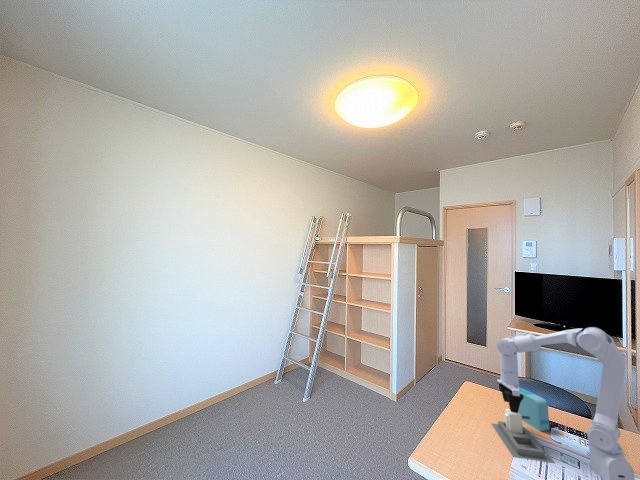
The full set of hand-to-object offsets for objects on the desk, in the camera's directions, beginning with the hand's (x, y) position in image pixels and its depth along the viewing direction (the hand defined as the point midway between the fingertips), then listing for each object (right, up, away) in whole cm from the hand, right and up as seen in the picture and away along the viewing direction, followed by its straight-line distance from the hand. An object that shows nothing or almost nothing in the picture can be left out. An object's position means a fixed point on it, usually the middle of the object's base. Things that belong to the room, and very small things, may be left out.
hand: (510, 406), depth 102 cm
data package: (+12, -11, +6) cm, 18 cm away
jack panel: (-1, -10, -6) cm, 12 cm away
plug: (+1, -9, -2) cm, 10 cm away
